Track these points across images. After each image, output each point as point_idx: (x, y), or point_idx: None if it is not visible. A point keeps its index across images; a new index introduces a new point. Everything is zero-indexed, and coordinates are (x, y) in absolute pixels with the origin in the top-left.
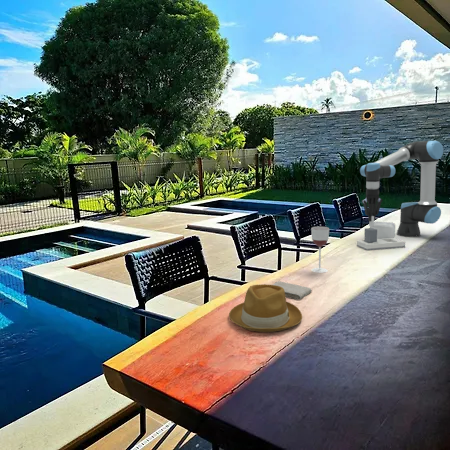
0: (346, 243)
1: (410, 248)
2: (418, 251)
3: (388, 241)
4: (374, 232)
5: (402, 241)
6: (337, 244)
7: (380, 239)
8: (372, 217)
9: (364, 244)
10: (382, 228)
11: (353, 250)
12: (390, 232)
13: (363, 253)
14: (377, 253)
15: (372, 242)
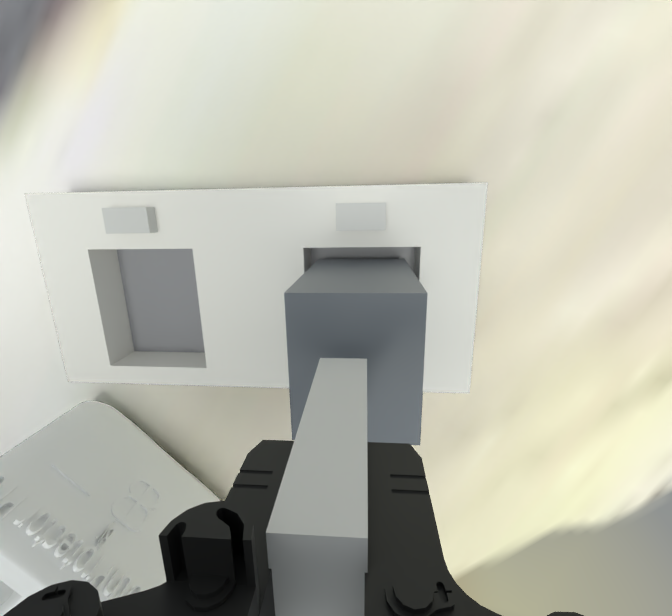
0: (482, 474)
1: (42, 144)
2: (16, 4)
3: (145, 355)
4: (340, 282)
5: (46, 219)
6: (580, 469)
7: (216, 364)
8: (339, 498)
9: (480, 237)
10: (84, 536)
11: (593, 224)
12: (46, 452)
13: (581, 72)
14: (441, 31)
15: (368, 261)
